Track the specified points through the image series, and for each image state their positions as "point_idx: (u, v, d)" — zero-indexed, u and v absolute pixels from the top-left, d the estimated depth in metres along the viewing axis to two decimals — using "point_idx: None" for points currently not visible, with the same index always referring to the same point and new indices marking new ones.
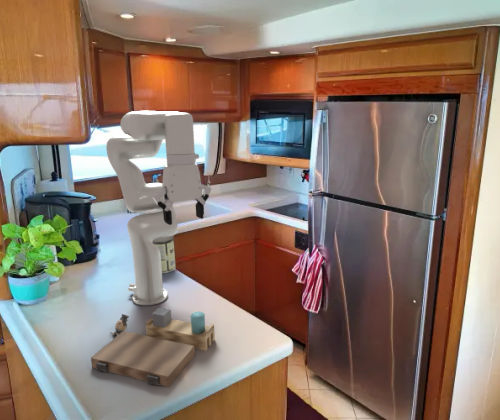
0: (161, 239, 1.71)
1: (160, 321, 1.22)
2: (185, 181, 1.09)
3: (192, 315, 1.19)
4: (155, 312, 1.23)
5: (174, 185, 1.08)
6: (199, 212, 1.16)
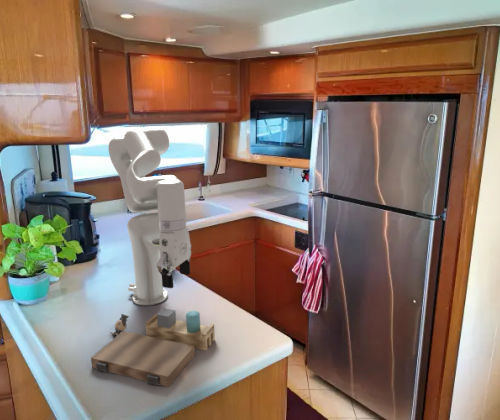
0: None
1: (165, 322, 1.22)
2: None
3: (187, 314, 1.20)
4: (160, 313, 1.23)
5: None
6: None
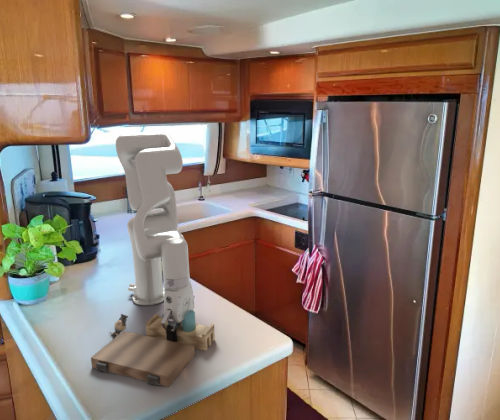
0: None
1: (170, 323, 1.21)
2: None
3: None
4: None
5: None
6: None
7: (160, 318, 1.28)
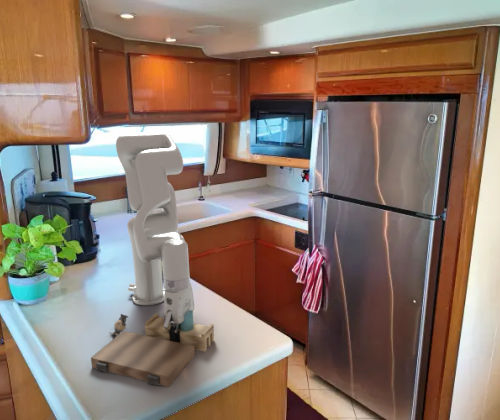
0: None
1: None
2: None
3: None
4: None
5: None
6: None
7: (159, 318, 1.27)
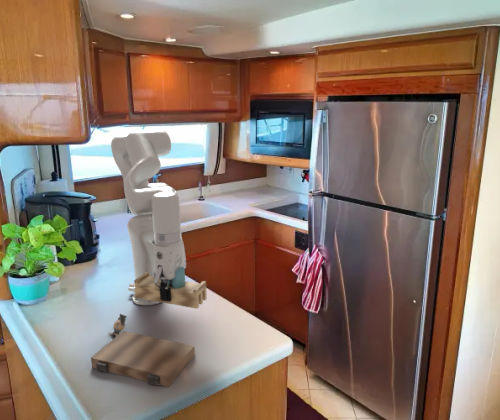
0: None
1: None
2: None
3: None
4: None
5: None
6: None
7: (150, 277, 1.22)
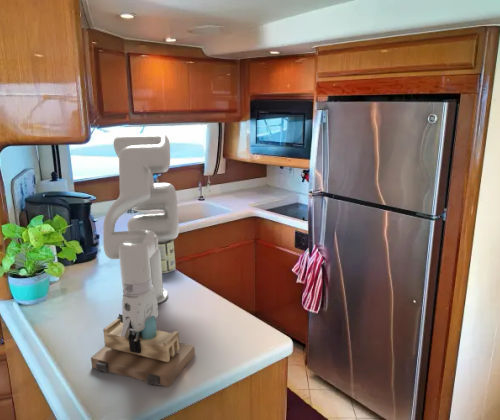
0: None
1: None
2: None
3: None
4: None
5: None
6: None
7: (121, 323, 1.16)
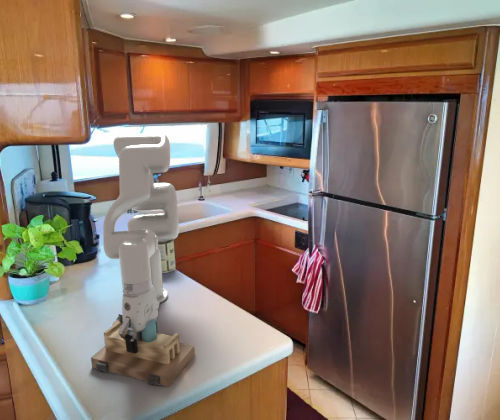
0: None
1: None
2: None
3: None
4: None
5: None
6: None
7: None
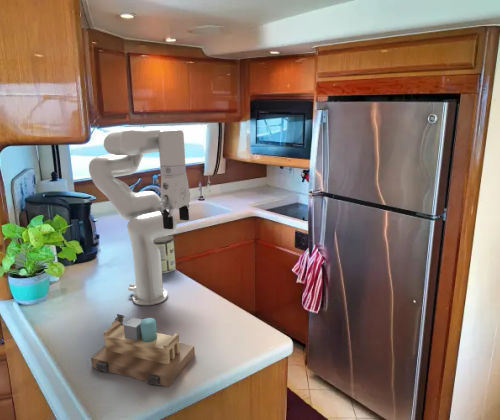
0: (161, 239, 1.71)
1: (132, 333, 1.10)
2: None
3: (142, 322, 1.09)
4: (127, 323, 1.11)
5: None
6: None
7: (121, 327, 1.17)
